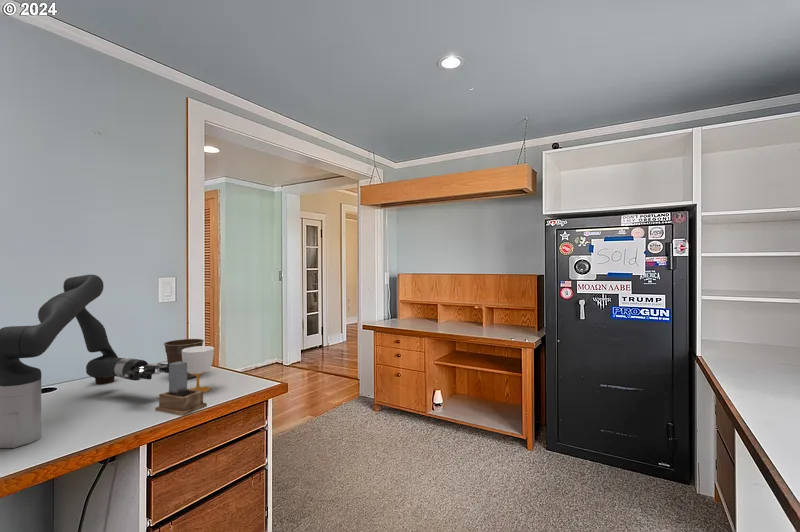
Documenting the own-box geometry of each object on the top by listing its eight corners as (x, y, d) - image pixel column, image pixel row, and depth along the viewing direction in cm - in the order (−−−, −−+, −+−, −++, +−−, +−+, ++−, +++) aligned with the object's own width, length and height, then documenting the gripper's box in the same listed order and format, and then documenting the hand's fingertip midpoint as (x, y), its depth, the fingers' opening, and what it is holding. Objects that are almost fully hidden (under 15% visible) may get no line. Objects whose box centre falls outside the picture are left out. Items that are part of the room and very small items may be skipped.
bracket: (183, 408, 138) (183, 365, 138) (168, 405, 140) (169, 363, 140) (193, 404, 141) (193, 363, 141) (178, 402, 144) (179, 361, 144)
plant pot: (164, 374, 184) (164, 340, 184) (203, 370, 192) (203, 337, 192) (162, 383, 170) (162, 346, 170) (204, 378, 177) (204, 343, 177)
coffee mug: (113, 378, 177) (113, 356, 177) (119, 382, 172) (120, 359, 172) (81, 384, 168) (81, 360, 168) (86, 388, 163) (86, 364, 163)
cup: (204, 384, 168) (204, 344, 168) (219, 389, 162) (219, 348, 162) (175, 391, 159) (175, 349, 159) (191, 397, 152) (191, 353, 152)
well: (182, 415, 134) (182, 399, 134) (155, 410, 138) (155, 394, 138) (206, 405, 143) (206, 390, 143) (180, 401, 148) (180, 386, 148)
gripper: (112, 363, 143) (143, 367, 137) (149, 355, 157) (179, 358, 151) (112, 384, 143) (143, 389, 137) (149, 374, 157) (179, 378, 151)
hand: (162, 373), depth 144 cm, fingers open, 8 cm apart
